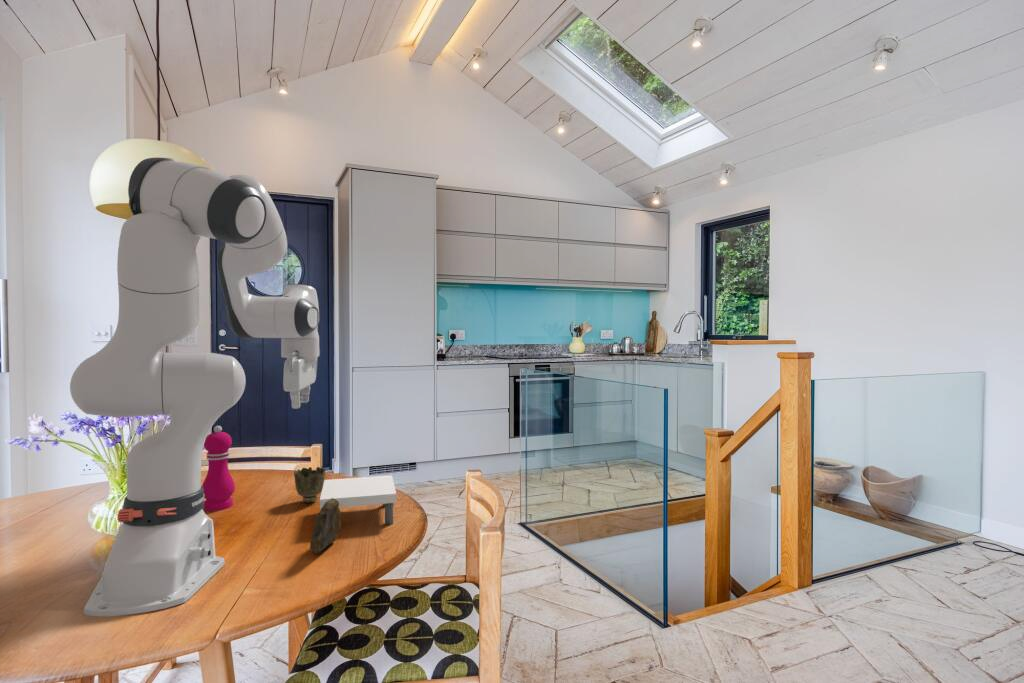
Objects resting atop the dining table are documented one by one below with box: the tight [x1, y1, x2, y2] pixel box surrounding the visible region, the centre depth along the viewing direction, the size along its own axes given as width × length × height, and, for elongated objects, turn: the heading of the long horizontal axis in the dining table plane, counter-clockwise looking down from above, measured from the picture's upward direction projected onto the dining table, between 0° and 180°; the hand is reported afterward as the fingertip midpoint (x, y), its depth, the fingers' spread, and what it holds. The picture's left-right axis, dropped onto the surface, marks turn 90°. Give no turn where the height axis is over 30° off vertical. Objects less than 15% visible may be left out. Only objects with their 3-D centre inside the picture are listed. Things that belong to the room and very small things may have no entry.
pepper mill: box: [201, 425, 236, 512], centre depth 131 cm, size 7×7×20 cm
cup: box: [293, 466, 326, 504], centre depth 136 cm, size 8×7×8 cm
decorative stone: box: [309, 498, 342, 554], centre depth 105 cm, size 10×9×4 cm
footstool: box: [319, 474, 397, 526], centre depth 125 cm, size 16×16×7 cm
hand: (300, 405), depth 134 cm, fingers open, 8 cm apart
